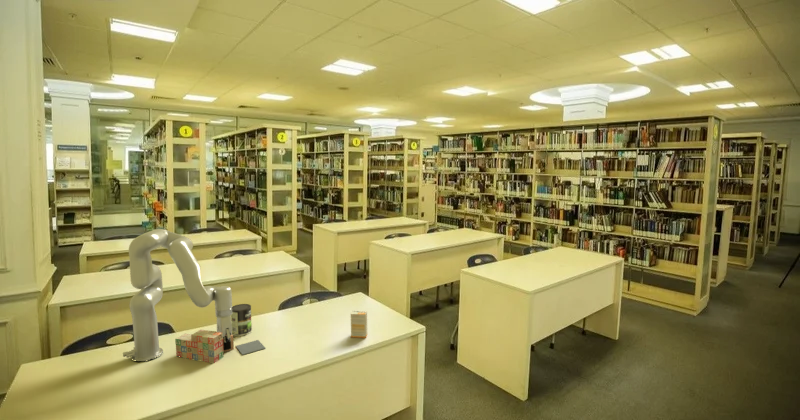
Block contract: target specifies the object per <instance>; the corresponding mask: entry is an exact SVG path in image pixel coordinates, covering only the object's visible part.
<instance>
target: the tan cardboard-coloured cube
mask: <svg viewBox="0 0 800 420" xmlns="http://www.w3.org/2000/svg"><path fill="white" fill-rule="evenodd" d="M225 336H227V335H225ZM230 337H231V338H230V339H231V349H228V350H224V343H223V353H225V352H226V353H227V352H229V351H233V350H234V349H235V346H234V345H235V344H234V335H230ZM226 338H227V337H225V339H226ZM223 342H224V337H223Z"/></svg>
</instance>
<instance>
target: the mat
mask: <svg viewBox="0 0 800 420" xmlns="http://www.w3.org/2000/svg"><path fill="white" fill-rule="evenodd" d="M235 348H236V349H237V350H238V352H239V353H240V354H241V356H245V355H248V354H252V353H255V352H258V351H262V350H266V347H265V346H264V344H263V343H262V342H261V341H260V340H259V339H256V340H252V341H249V342H244V343H242V344H238V345H235Z"/></svg>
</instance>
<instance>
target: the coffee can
mask: <svg viewBox="0 0 800 420" xmlns="http://www.w3.org/2000/svg"><path fill="white" fill-rule="evenodd" d="M231 325H232V335H233V337H234V336H235V337H242V336H247V335H249V334H251V333H252V331H253V328H252V327H253V326H252V325H253V324H252V305H251V304H250V303H240V304H235V305H232V315H231Z"/></svg>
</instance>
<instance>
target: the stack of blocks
mask: <svg viewBox="0 0 800 420" xmlns="http://www.w3.org/2000/svg"><path fill="white" fill-rule="evenodd" d="M175 351H176V352H175V353H176V354H175V355H176V357H177V356H180V357H179V358H181V357H184V358H183V359H186V358H189V359H188V360H192V359H194V360H193V361H198V360H201V361H200V362H204V361H205V363H210V364H215V363H217V362H218V361H220V360H221V359H223V358H224V352H223V333H221V332H217V330H216V331H215V330H209V329H208V330H205V329H199V330H197V331H195V332H194V333H183V334H182V335H180V336H178V337H176V338H175Z"/></svg>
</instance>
